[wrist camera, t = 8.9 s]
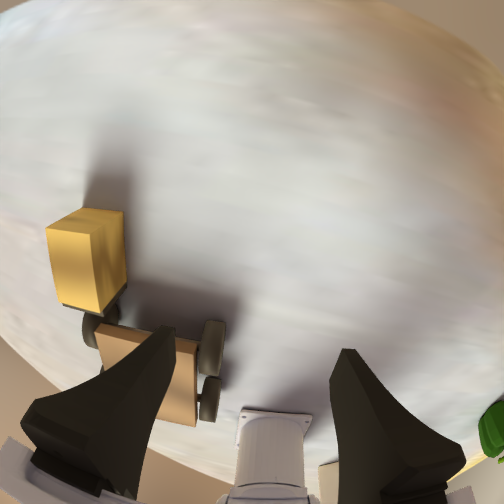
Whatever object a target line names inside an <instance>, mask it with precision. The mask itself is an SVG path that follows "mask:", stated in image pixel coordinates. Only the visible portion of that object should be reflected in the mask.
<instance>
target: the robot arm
mask: <svg viewBox="0 0 504 504" xmlns="http://www.w3.org/2000/svg"><path fill="white" fill-rule="evenodd" d="M175 365H176V344H175V328H173V327H168V326H163V325H161V326H159V327H158V328H157V329H156V330H155V331H154V332H153V333H152V334H151V335H150V336H149V337H147V338H146V339H145V340H144V341H143V342H142V343H141V344H140V345H138V346H137V347H136V348H135V349H134V350H133V351H131V352H130V353H129V354H128V355H126V356H125V357H124V358H123V359H121V360H120V361H119V362H117V363H116V364H115V365H113V366H112V367H110V368H109V369H107V370H106V371H104V372H102V373H101V374H99V375H97V376H96V377H94V378H92V379H90V380H88V381H86V382H84V383H82V384H80V385H78V386H76V387H73V388H71V389H68V390H66V391H63V392H60V393H57V394H54V395H50V396H46V397H43V398H39V399H35V400H34V401H33V403H32V404H31V405H30V407H29V409H28V410H27V412H26V413H25V415H24V416H23V418H22V420H21V422H20V424H21V427H22V429H23V431H24V432H25V433H26V435H27V436H28V437H29V439H30V440H31V441H32V442H33V443H34V445H35V446H36V447H37V448H36V450H35V452H33V451H32V450H30V449H29V448H28V447H26V446H24V445H23V444H21V443H20V442H18V441H17V440H15V439H13V438H12V437H10V436H8V438H7V440H6V441H5V443H4V445H3V446H2V448H1V450H0V489H2V490H3V491H4V492H6V493H7V494H8V495H10V496H11V497H12V498H14V499H15V500H17V501H18V502H20V503H21V504H145V503H141V502H138V501H136V499H137V493H138V487H139V481H140V475H141V470H142V466H143V461H144V456H145V453H146V448H147V445H148V441H149V437H150V433H151V430H152V426H153V424H154V421H155V418H156V416H157V413H158V411H159V409H160V406H161V404H162V402H163V399H164V397H165V394H166V392H167V390H168V387H169V385H170V382H171V380H172V376H173V373H174V369H175ZM329 383H330V401H331V407H332V412H333V418H334V424H335V429H336V435H337V441H338V454H339V487H338V502H337V504H476V502H475V498H474V495H473V491H472V488H471V486H467V487H464V488H462V489H459V490H456V491H454V492H452V493H449V494H447V495H445V491H444V490H446V489H447V488H448V486H447V482H446V481H448V480H449V479H450V478H451V477H453V476H454V475H455V474H456V473H458V472H459V471H460V470H461V469H462V468H463V467H464V466H465V464H466V458H465V455H464V453H463V450H462V447H461V445H460V444H458V443H456V442H454V441H452V440H450V439H448V438H446V437H444V436H442V435H440V434H439V433H437V432H435V431H434V430H432V429H431V428H429V427H428V426H426V425H425V424H424V423H422V422H421V421H420V420H418V419H417V418H416V417H415V416H413V415H412V414H411V413H410V412H409V411H408V410H406V409H405V408H404V407H403V406H402V405H401V404H400V403H399V402H398V401H397V400H396V399H395V398H394V397H393V396H392V395H391V394H390V392H389V391H388V390H387V389H386V388H385V387H384V386H383V384H382V383H381V382H380V381H379V380H378V378H377V377H376V376H375V375H374V373H373V372H372V371H371V369H370V368H369V367H368V365H367V364H366V363H365V361H364V360H363V359H362V357H361V356H360V355H359V353H358V352H357V351H356V350H355V349H343V348H342V350H341V353H340V355H339V358H338V360H337V363H336V365H335V368H334V370H333V372H332V375H331V377H330V380H329ZM312 420H313V417H312V416H311V415H303V414H286V413H273V412H262V411H253V410H241V411H240V416H239V422H238V428H237V434H236V440H235V446H234V448H235V449H236V450H238V459H237V467H236V475H235V484H234V487H231V488H230V495H227V494H224V495H222V497H220V498H219V499H218V500H217V502H216V504H320V501H319V499H318V498H316V497H315V495H308V496H307V487H305V480H304V454H303V437H304V435H305V434H306V432H307V430H308V428H309V426H310V424H311V422H312Z"/></svg>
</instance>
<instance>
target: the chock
mask: <svg viewBox="0 0 504 504" xmlns="http://www.w3.org/2000/svg"><path fill="white" fill-rule="evenodd" d="M45 229H46V237H47V244H48V251H49V257H50V262H51V268H52V273H53V278H54V283H55V288H56V292H57V297H58V301H59V302H61V303H62V304H63V306H66V307H69V308H73V309H76V310H80V311H83V312H87V313H91V314H95V315H98V316H102V317H104V316H105V315H106V314H107V312H108V311H109V310H110V308H111V307H112V306H113V305H114V303H115V302H116V301H117V299H118V298H119V297H120V296H121V294H122V293H123V292H124V291H125V289H126V288H127V282H126V281H127V274H126V261H125V245H124V219H123V212H121V211H112V210H102V209H92V208H80V209H78V210H77V211H75V212H73V213H71V214H69V215H67V216H66V217H64V218H62V219H60V220H58V221H57V222H55V223H53V224H51V225H50V226H48V227H46V228H45Z"/></svg>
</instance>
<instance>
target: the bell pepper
mask: <svg viewBox="0 0 504 504" xmlns="http://www.w3.org/2000/svg"><path fill="white" fill-rule="evenodd" d="M478 429H479V436H480V442H481V446H482V449H483V451H484V454H485V455H487V456H488V457H492V458H494V457H496V456H498V455H499V454H500V453H501V452H502V451H503V450H504V401H499V402H497V403H495V404H494V405H493V406H491V407H490V408H489V409H488V410H487V411H486V413H485V415H484V416H483V417H482V418H481V419H480V420H479V424H478ZM502 462H504V456H503V457H502V458H499V460H498V463H502Z"/></svg>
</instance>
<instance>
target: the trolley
mask: <svg viewBox="0 0 504 504" xmlns="http://www.w3.org/2000/svg"><path fill="white" fill-rule="evenodd" d="M118 323H119V315H118V309H117V306H116V305H115V303H114V305H113V306H112V307H111V308H110V310H109V311H108V312H107V314H106V315H105V316H104V317H102V316H98V315H95V314H91V313H87V312H85V314H84V317H83V322H82V335H83V339H84V342H85V343H86V345H87V346H89V347H92V348H95V349H98V350H99V352H100V356H101V359H102V363H103V365H102V367H101V370H100V374H101V373H102V372H104V371H106V370H107V369H109V368H110V367H112V366H113V365H115V364H116V363H117V362H119V361H120V360H121V359H123V358H124V357H125V356H126V355H128V354H129V353H130V352H131V351H133V350H134V349H135V348H136V347H137V346H138V345H140V344H141V343H142V342H143V341H144V340H145V339H146V338H147V337H149V336H150V335H151V334H152V333H153V332H149V331H145V330H140V329H136V328H131V327H127V326H123V325H119V324H118ZM225 331H226V323H224V322H218V321H211V320H207V322H206V324H205V327H204V330H203V335H202V340H201V341H196V340H190V339H185V338H179V337H175V344H176V365H175V369H174V373H173V376H172V380H171V382H170V385H169V387H168V390H167V392H166V394H165V397H164V399H163V402H162V404H161V406H160V409H159V411H158V413H157V416H156V418H155V419H159V420H164V421H168V422H172V423H177V424H181V425H186V426H191V427H196V423H197V419H198V409H197V402H200V409H199V419H200V420H202V421H208V422H214V423H215V421H216V417H217V412H218V406H219V399H220V391H221V379H215V378H209V377H206V378H205V381H204V385H203V389H202V394H197V351H200V353H199V373H201V374H206V375H212V376H218V375H219V371H220V367H221V361H222V355H223V349H224V341H225Z"/></svg>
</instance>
